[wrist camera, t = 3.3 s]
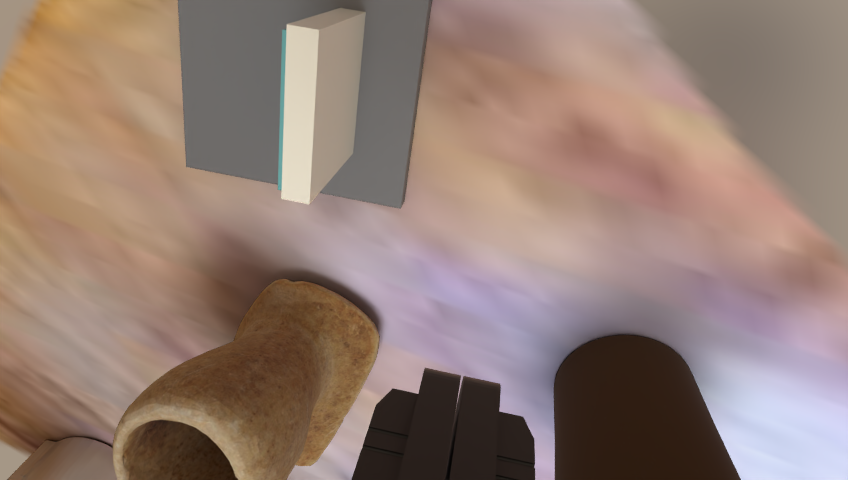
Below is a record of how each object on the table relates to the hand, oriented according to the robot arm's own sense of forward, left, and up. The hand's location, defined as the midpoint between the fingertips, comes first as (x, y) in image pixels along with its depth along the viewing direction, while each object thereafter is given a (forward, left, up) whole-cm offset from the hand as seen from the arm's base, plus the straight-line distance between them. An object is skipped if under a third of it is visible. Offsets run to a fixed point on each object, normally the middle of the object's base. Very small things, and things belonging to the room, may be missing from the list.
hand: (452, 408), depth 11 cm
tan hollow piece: (-12, -21, -25) cm, 35 cm away
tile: (-9, 0, -24) cm, 25 cm away
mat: (-12, 0, -25) cm, 28 cm away
